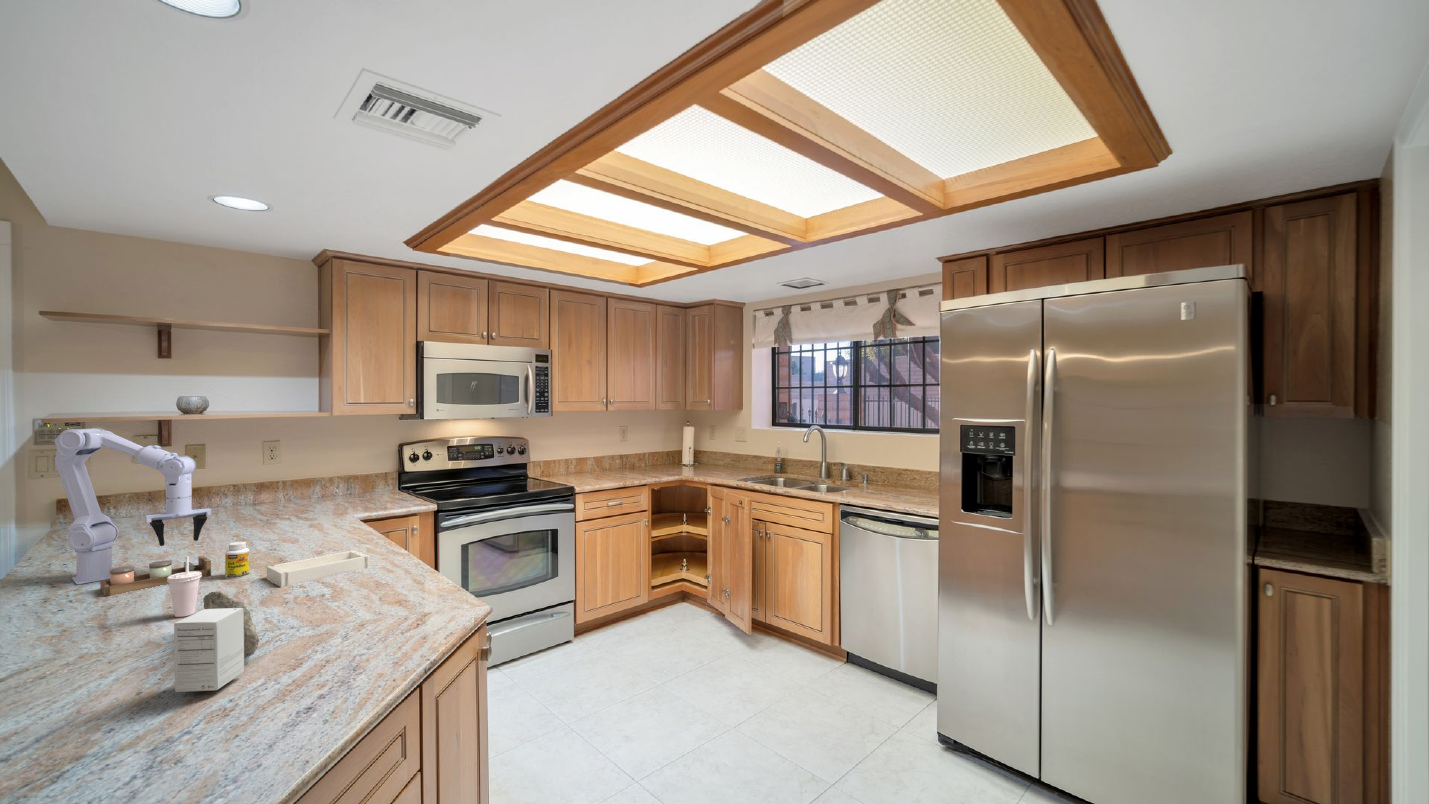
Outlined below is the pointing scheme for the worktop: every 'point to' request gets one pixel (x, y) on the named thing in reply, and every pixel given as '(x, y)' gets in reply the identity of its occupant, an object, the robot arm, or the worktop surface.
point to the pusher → (191, 567)
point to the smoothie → (184, 591)
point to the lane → (146, 582)
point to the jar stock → (121, 575)
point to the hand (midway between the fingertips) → (179, 542)
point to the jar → (160, 569)
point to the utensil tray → (317, 568)
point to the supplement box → (208, 649)
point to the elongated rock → (250, 637)
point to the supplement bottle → (237, 561)
